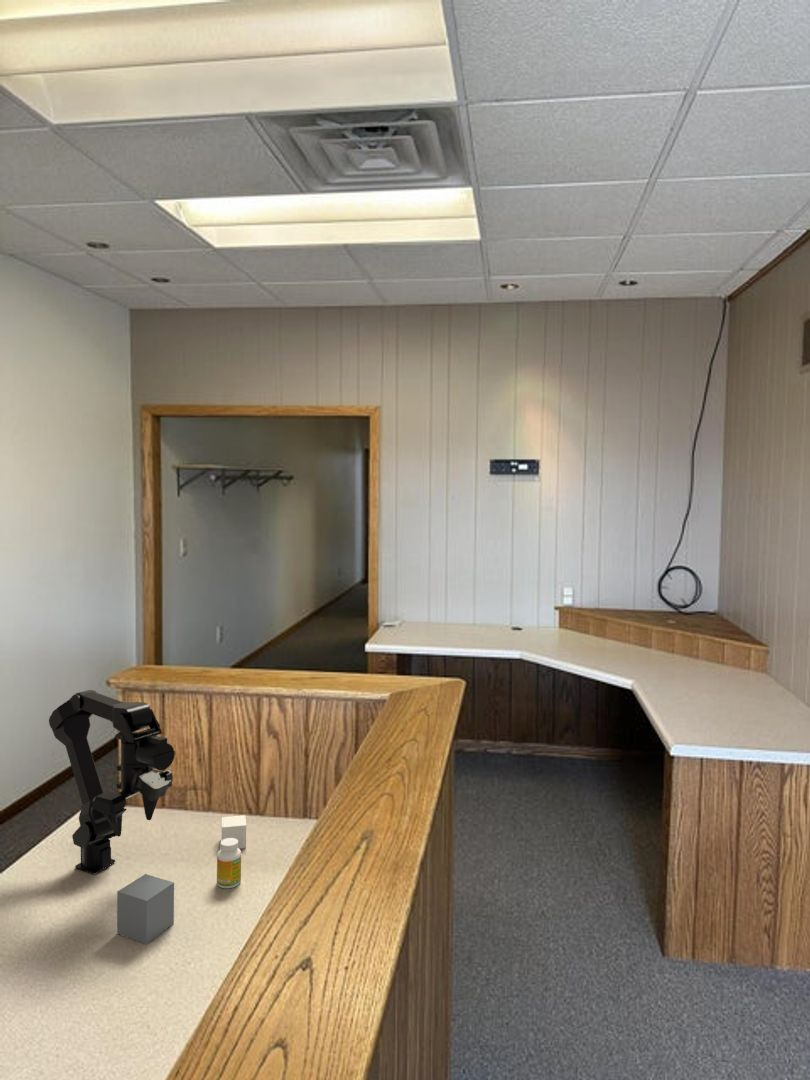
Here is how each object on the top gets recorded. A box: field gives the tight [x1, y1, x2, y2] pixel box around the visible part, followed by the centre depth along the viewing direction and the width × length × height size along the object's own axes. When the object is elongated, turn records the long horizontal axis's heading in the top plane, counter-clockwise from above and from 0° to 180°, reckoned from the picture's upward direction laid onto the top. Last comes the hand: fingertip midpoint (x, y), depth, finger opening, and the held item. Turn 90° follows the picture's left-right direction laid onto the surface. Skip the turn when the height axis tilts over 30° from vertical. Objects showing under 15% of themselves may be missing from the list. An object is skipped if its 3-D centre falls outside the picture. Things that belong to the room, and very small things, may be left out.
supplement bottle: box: [216, 838, 242, 889], centre depth 165 cm, size 5×5×10 cm
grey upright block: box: [116, 873, 175, 945], centre depth 147 cm, size 8×8×9 cm
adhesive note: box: [220, 814, 247, 850], centre depth 184 cm, size 6×6×6 cm
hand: (133, 827), depth 164 cm, fingers open, 9 cm apart
